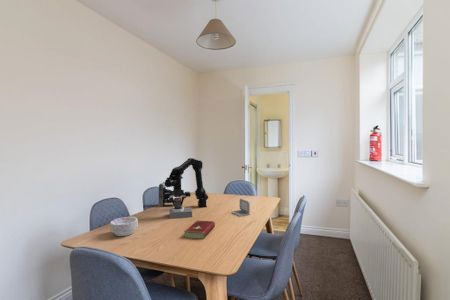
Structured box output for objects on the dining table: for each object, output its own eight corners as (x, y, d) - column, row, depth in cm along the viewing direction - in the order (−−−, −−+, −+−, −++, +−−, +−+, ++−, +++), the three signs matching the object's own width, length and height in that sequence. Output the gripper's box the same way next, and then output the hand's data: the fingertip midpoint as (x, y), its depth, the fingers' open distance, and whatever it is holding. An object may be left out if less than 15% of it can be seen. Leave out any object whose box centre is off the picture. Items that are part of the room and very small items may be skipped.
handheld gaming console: (230, 212, 191) (230, 199, 190) (241, 210, 195) (240, 198, 195) (239, 216, 179) (239, 202, 179) (250, 214, 183) (250, 201, 183)
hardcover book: (215, 227, 158) (214, 220, 157) (204, 239, 137) (204, 232, 137) (197, 226, 160) (197, 219, 160) (184, 238, 140) (183, 230, 140)
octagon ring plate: (190, 212, 192) (190, 205, 192) (192, 216, 180) (192, 209, 180) (169, 214, 189) (169, 206, 189) (169, 218, 177) (169, 210, 177)
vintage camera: (176, 207, 212) (176, 183, 212) (158, 206, 212) (158, 183, 212) (178, 204, 221) (179, 182, 221) (161, 204, 222) (161, 182, 222)
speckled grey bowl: (123, 239, 138) (122, 225, 138) (104, 235, 145) (104, 222, 145) (143, 231, 151) (143, 218, 151) (125, 227, 158) (125, 215, 158)
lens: (181, 207, 187) (180, 197, 187) (181, 209, 182) (181, 198, 182) (174, 208, 186) (174, 197, 186) (174, 210, 181) (174, 199, 181)
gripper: (163, 187, 174) (164, 209, 174) (190, 186, 178) (191, 208, 178) (164, 185, 185) (164, 206, 185) (189, 184, 189) (190, 204, 189)
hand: (177, 206), depth 184 cm, fingers closed on lens, 5 cm apart
